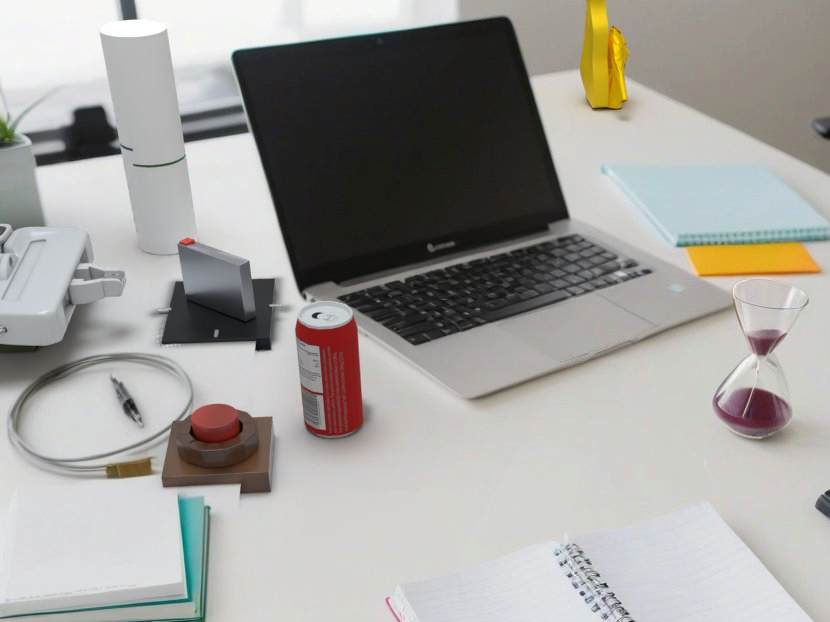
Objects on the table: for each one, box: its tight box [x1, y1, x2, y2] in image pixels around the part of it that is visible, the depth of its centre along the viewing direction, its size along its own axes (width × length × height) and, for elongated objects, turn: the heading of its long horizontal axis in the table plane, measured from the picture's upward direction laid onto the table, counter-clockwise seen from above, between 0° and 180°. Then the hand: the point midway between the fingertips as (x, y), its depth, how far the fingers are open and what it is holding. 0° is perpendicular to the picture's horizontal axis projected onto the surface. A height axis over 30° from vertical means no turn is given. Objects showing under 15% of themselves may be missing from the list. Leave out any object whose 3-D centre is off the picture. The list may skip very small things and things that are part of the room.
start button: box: [191, 403, 240, 443], centre depth 101 cm, size 4×4×2 cm
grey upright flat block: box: [177, 238, 256, 322], centre depth 123 cm, size 9×2×7 cm, turn 56°
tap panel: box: [157, 278, 284, 352], centre depth 125 cm, size 14×13×2 cm
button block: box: [160, 408, 276, 495], centre depth 103 cm, size 9×9×4 cm
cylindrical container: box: [98, 19, 199, 256], centre depth 134 cm, size 7×7×25 cm
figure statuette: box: [579, 0, 631, 110], centre depth 182 cm, size 18×8×22 cm, turn 8°
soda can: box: [294, 300, 364, 439], centre depth 106 cm, size 6×6×12 cm
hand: (123, 282), depth 118 cm, fingers closed
